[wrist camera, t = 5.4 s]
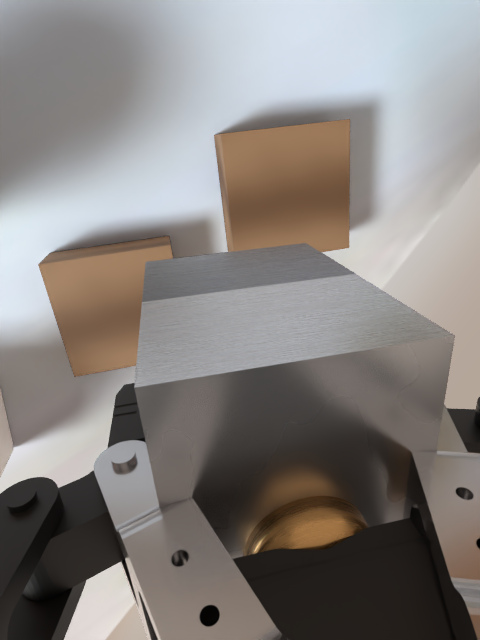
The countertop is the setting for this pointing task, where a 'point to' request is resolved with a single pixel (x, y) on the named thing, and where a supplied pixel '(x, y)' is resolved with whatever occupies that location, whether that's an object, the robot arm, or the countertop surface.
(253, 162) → the stand
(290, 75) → the countertop surface
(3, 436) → the medicine bottle
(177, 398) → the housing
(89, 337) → the stand
